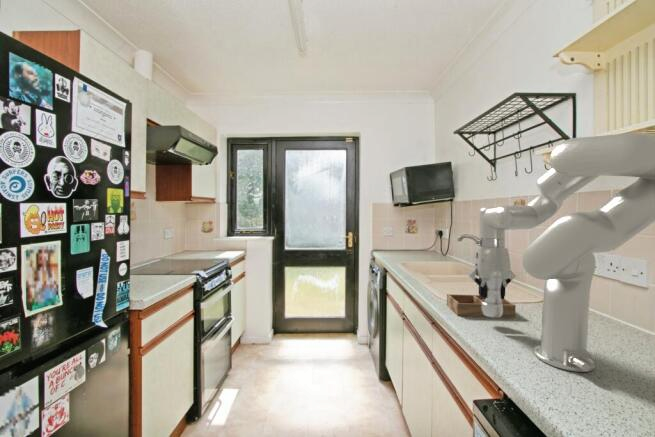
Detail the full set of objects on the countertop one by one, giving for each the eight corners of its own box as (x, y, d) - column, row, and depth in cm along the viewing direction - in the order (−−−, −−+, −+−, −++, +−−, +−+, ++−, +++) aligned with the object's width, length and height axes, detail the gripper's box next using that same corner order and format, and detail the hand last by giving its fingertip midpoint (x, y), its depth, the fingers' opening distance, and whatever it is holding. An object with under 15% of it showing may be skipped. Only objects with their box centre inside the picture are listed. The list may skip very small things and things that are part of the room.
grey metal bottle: (492, 312, 105) (492, 255, 105) (508, 319, 99) (508, 258, 99) (476, 314, 104) (476, 256, 104) (491, 320, 97) (491, 258, 97)
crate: (515, 318, 109) (515, 305, 109) (457, 317, 110) (457, 303, 110) (498, 308, 121) (499, 295, 121) (446, 306, 122) (447, 294, 122)
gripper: (470, 244, 98) (470, 300, 98) (524, 244, 97) (524, 301, 97) (461, 242, 105) (461, 294, 106) (511, 242, 105) (512, 295, 105)
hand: (491, 297), depth 101 cm, fingers closed on grey metal bottle, 5 cm apart
